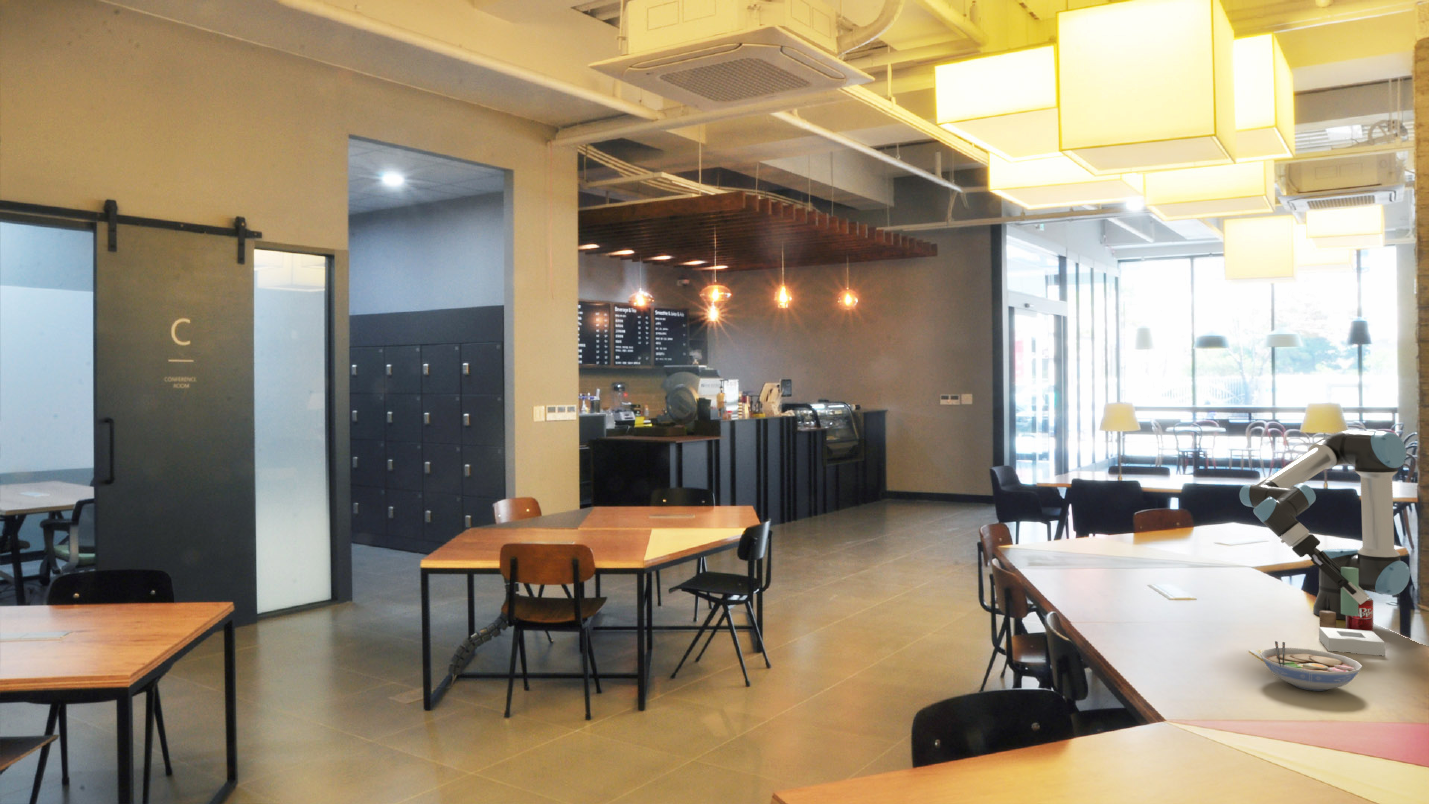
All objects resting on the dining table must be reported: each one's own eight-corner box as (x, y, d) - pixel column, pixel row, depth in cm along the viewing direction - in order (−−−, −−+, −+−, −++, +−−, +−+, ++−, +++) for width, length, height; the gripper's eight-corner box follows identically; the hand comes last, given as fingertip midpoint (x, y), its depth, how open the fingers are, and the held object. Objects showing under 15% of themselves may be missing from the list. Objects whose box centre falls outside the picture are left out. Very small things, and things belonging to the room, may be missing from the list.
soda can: (1377, 638, 291) (1377, 600, 291) (1352, 637, 293) (1352, 599, 292) (1366, 632, 298) (1366, 595, 298) (1341, 631, 300) (1341, 594, 300)
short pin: (1318, 631, 300) (1318, 610, 300) (1334, 633, 298) (1334, 611, 298) (1321, 635, 296) (1321, 613, 296) (1337, 636, 294) (1337, 614, 294)
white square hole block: (1319, 639, 290) (1319, 626, 290) (1372, 643, 285) (1372, 631, 285) (1328, 651, 277) (1328, 637, 277) (1384, 655, 272) (1384, 642, 272)
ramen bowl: (1365, 708, 228) (1365, 675, 228) (1258, 693, 240) (1258, 661, 240) (1359, 681, 249) (1359, 650, 249) (1261, 668, 261) (1260, 639, 261)
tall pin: (1339, 611, 284) (1339, 566, 284) (1356, 613, 282) (1356, 567, 282) (1342, 615, 280) (1342, 568, 280) (1359, 616, 278) (1360, 570, 278)
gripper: (1293, 544, 297) (1356, 602, 287) (1287, 551, 283) (1352, 613, 273) (1313, 529, 294) (1377, 587, 284) (1307, 536, 280) (1374, 597, 270)
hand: (1364, 600), depth 279 cm, fingers closed on tall pin, 4 cm apart
